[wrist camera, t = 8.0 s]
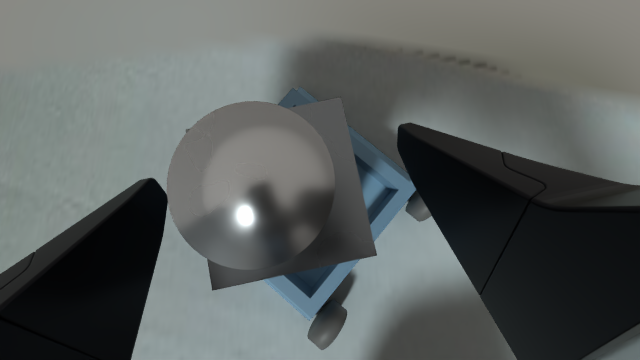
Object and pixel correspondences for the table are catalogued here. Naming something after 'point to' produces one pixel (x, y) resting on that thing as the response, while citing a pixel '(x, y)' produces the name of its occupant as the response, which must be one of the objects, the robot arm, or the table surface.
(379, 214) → the chassis
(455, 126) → the table surface
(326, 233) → the square bottle with cap
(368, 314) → the table surface
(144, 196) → the robot arm
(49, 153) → the table surface
